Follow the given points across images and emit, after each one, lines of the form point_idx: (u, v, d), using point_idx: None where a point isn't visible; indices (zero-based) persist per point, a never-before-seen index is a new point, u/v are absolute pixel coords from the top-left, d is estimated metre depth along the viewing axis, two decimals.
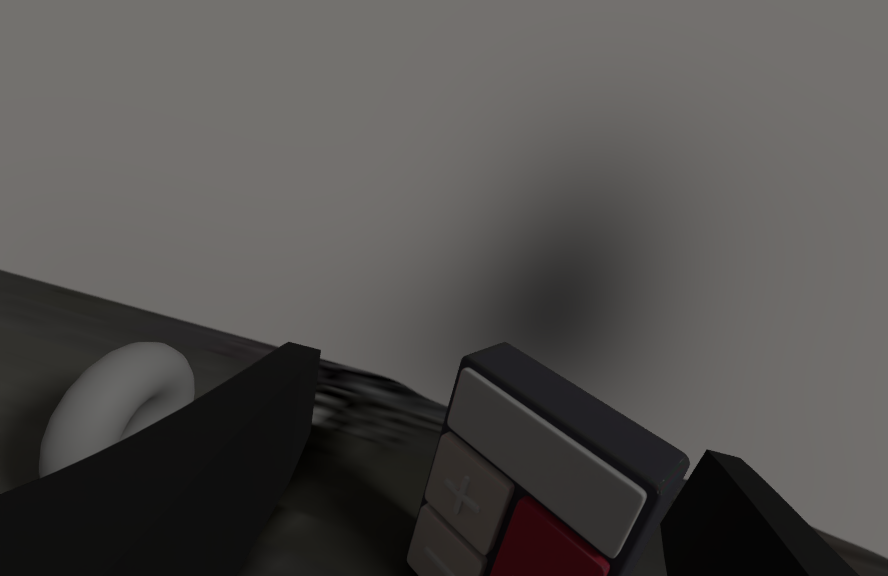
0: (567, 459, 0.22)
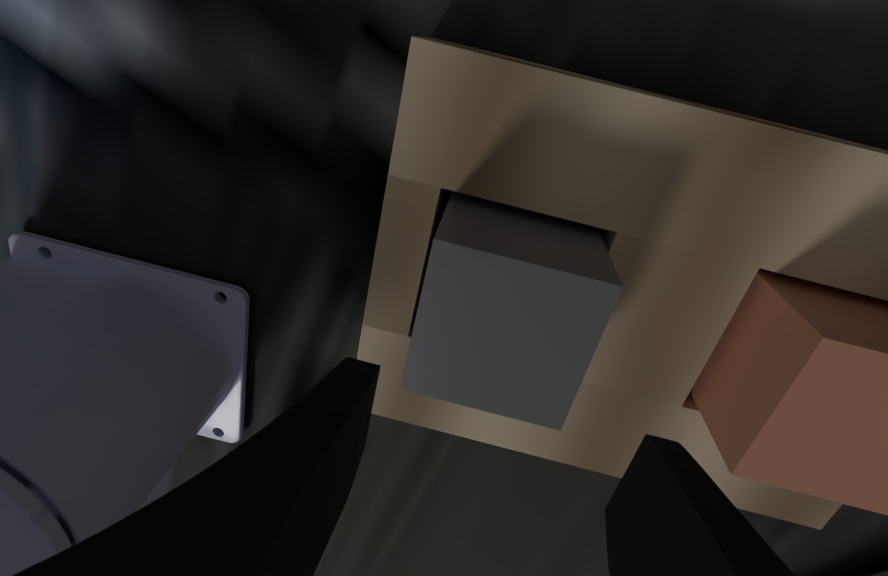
0: None
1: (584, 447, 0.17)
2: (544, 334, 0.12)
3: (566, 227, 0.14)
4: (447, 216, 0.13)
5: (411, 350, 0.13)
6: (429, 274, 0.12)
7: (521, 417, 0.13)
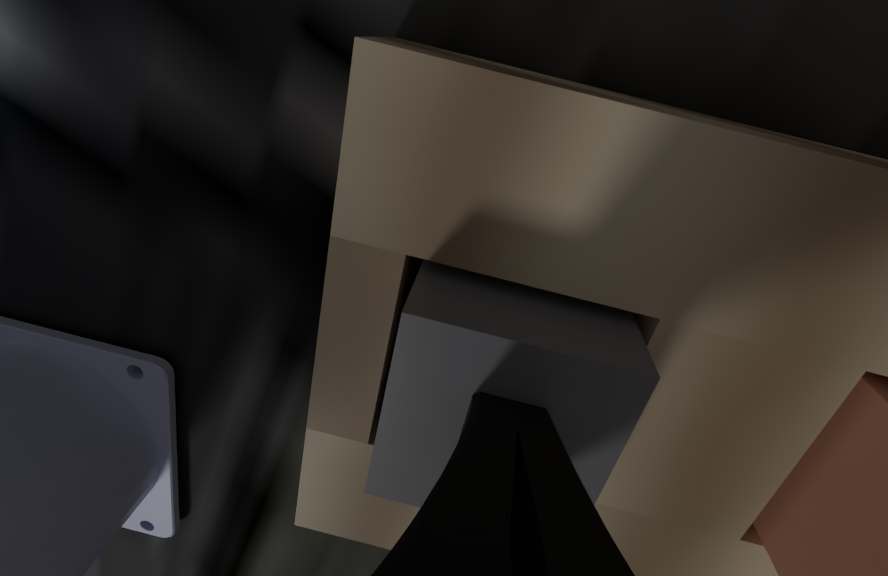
0: None
1: None
2: None
3: None
4: (425, 272, 0.10)
5: (377, 448, 0.10)
6: (398, 356, 0.09)
7: None
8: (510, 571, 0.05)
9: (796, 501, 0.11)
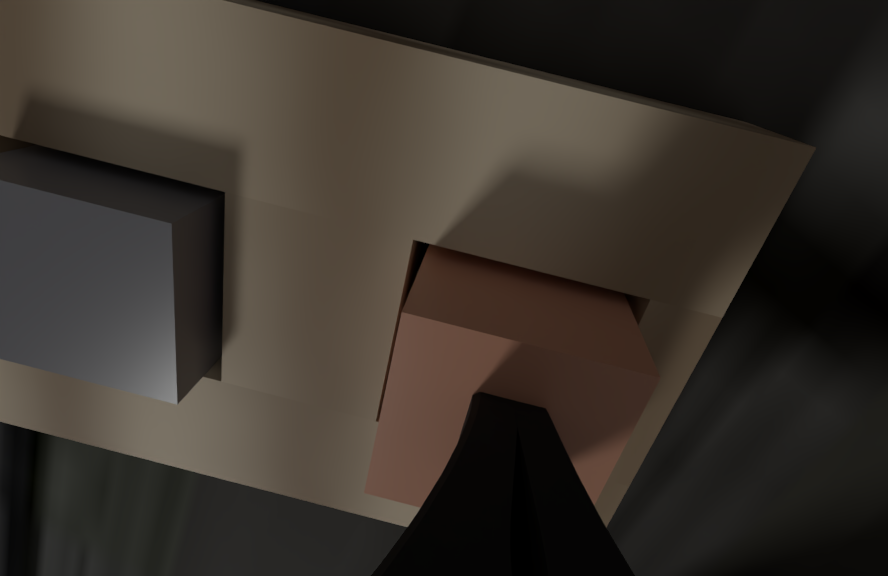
0: None
1: (281, 471, 0.14)
2: (112, 286, 0.10)
3: None
4: (27, 149, 0.11)
5: None
6: None
7: (130, 388, 0.11)
8: (510, 571, 0.05)
9: None
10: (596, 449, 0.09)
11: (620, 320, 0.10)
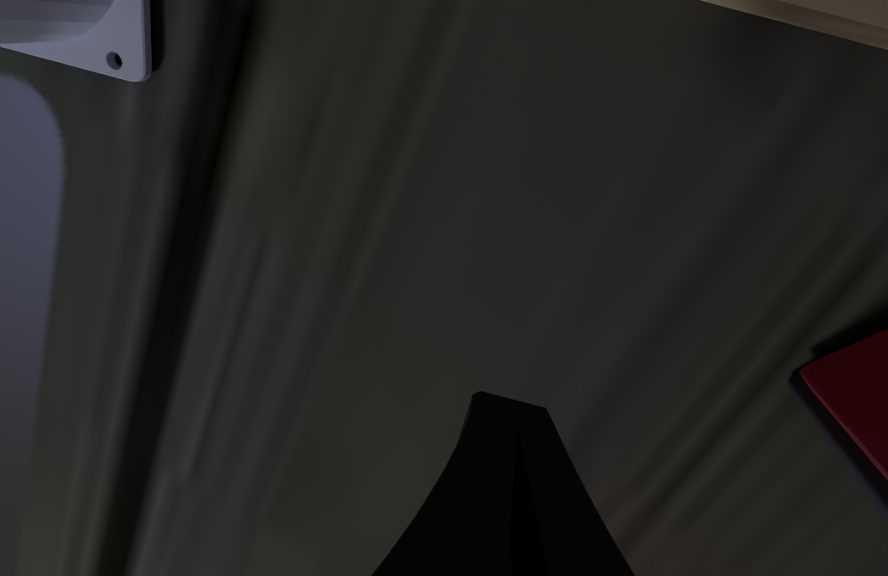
0: None
1: None
2: None
3: None
4: None
5: None
6: None
7: None
8: (510, 571, 0.05)
9: None
10: None
11: None
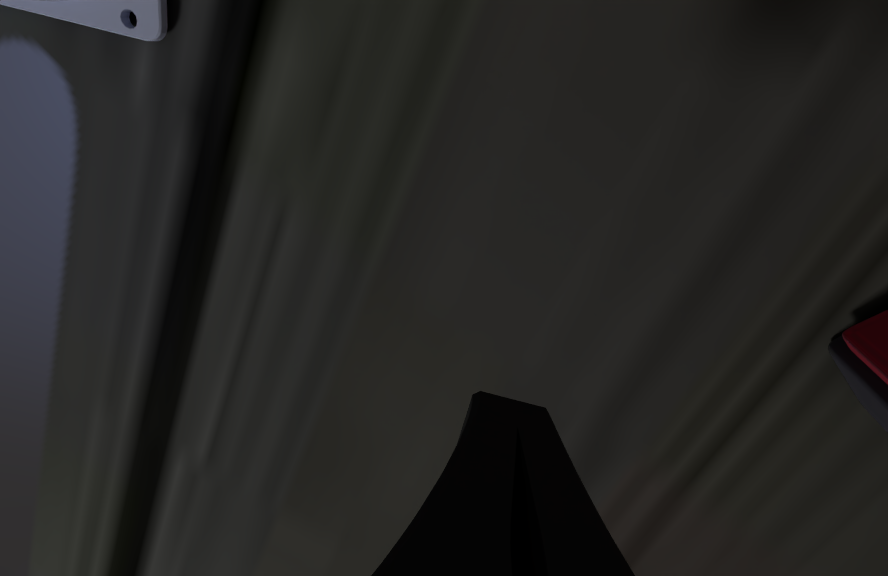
0: None
1: None
2: None
3: None
4: None
5: None
6: None
7: None
8: (510, 571, 0.05)
9: None
10: None
11: None
